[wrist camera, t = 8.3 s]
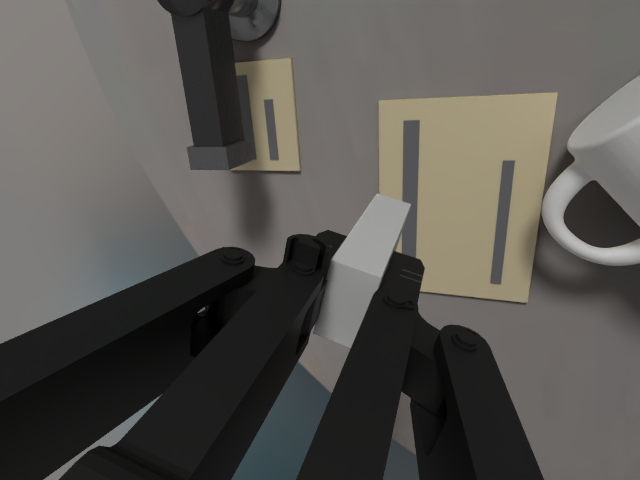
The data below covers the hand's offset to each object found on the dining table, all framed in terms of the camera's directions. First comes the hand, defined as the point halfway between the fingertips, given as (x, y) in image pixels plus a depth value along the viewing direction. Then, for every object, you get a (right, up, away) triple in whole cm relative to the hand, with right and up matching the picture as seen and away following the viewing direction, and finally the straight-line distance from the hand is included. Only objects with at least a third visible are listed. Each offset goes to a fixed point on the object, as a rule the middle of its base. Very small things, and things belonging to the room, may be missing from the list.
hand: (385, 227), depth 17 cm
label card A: (-8, +10, +18) cm, 22 cm away
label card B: (+8, +2, +15) cm, 17 cm away
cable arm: (-10, +12, +12) cm, 20 cm away
